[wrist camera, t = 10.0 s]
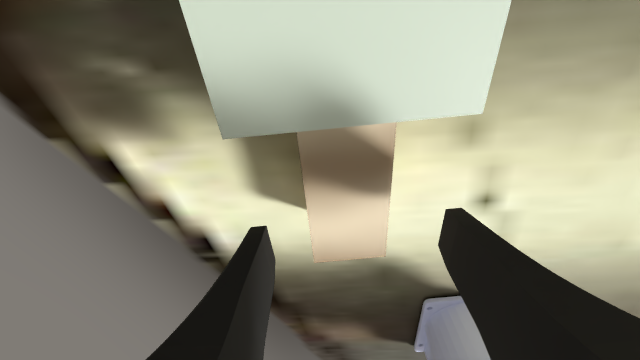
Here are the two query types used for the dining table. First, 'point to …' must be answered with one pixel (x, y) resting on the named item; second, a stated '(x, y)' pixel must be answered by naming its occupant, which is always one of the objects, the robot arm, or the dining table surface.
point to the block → (343, 60)
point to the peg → (348, 189)
